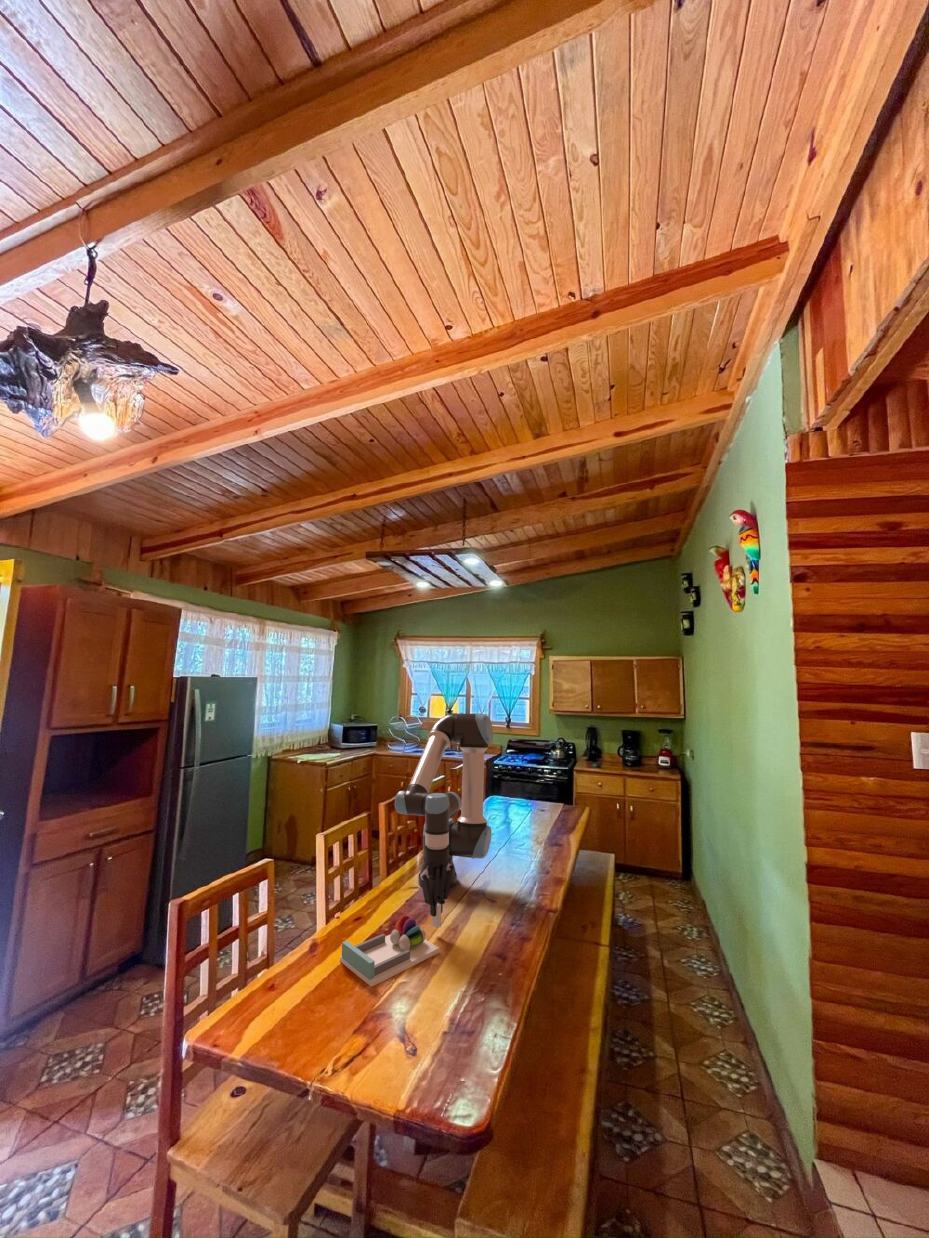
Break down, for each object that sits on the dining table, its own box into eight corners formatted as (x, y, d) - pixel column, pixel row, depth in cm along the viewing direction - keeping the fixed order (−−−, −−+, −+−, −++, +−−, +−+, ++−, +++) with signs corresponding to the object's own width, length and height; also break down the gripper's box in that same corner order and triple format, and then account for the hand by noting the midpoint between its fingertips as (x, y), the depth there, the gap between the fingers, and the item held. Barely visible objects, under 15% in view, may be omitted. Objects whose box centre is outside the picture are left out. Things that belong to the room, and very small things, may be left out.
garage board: (405, 931, 151) (406, 914, 152) (439, 952, 140) (439, 932, 141) (339, 960, 136) (340, 941, 136) (371, 986, 124) (371, 964, 125)
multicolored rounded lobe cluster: (409, 932, 149) (409, 907, 150) (429, 944, 142) (430, 918, 143) (386, 942, 143) (387, 916, 144) (406, 956, 136) (406, 928, 137)
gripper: (444, 838, 160) (444, 914, 157) (413, 847, 151) (412, 928, 148) (460, 843, 155) (460, 922, 152) (428, 853, 146) (427, 938, 143)
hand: (436, 925), depth 150 cm, fingers closed
